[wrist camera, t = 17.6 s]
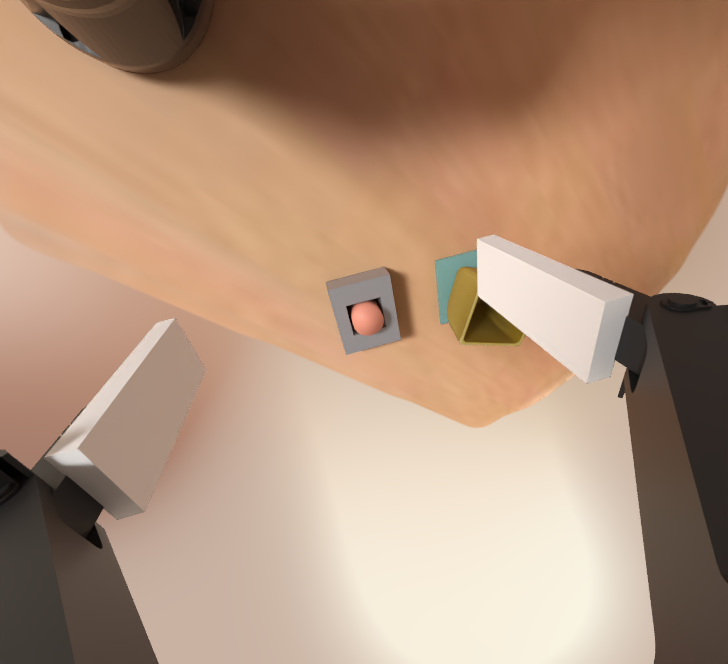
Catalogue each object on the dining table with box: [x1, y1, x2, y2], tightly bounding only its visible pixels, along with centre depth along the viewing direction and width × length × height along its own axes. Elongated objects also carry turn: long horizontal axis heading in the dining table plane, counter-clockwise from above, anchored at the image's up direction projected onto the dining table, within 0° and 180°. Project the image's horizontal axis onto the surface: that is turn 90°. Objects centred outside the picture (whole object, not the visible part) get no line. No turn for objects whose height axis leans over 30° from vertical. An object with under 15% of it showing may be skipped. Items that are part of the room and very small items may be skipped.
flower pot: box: [447, 267, 526, 346], centre depth 41 cm, size 9×9×9 cm
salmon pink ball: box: [349, 299, 384, 336], centre depth 42 cm, size 4×4×4 cm
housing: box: [326, 267, 401, 355], centre depth 43 cm, size 10×8×3 cm
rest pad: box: [435, 250, 477, 324], centre depth 45 cm, size 10×10×1 cm
